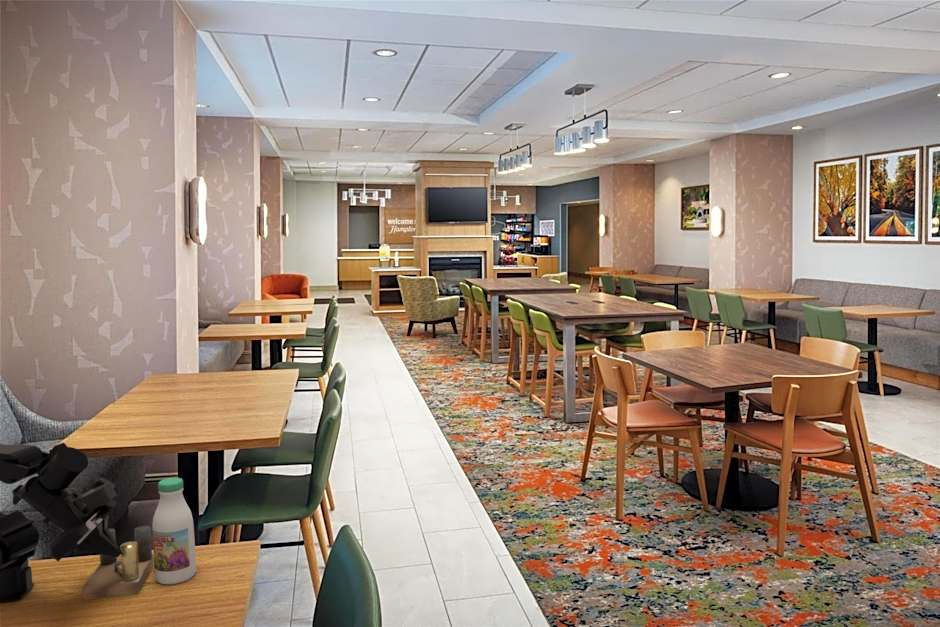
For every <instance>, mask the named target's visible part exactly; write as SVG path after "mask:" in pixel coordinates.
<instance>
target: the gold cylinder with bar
mask: <svg viewBox="0 0 940 627" xmlns="http://www.w3.org/2000/svg"><path fill="white" fill-rule="evenodd" d="M119 548H120V550H121V552H122V553H121V555H120V558H121V565H120V566H118V572H120V573H121V574H122V579H123V580H125V581H130V580H134V579H136V578H138V577H139V561H138V544H137V542H135V540H134V541H126V542H124V543H122V544H120V546H119Z"/></svg>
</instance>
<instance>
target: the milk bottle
mask: <svg viewBox="0 0 940 627" xmlns="http://www.w3.org/2000/svg"><path fill="white" fill-rule="evenodd" d="M157 488H158V494H159V501H158V505H157V508H156V510H155V511H154V515H153V518H152V527H151V528H152V548H153V550H152V554H153V558H154V568H153V569H154V579H155V581H156V583H157V582H158V583H159V584H162V585H175V584H176V585H177V584H180V583H183V582H186V581H188V580H190V579H191V578H193V577H194V576H195V575H196V571H197V563H196V561H197V560H196V542H195V541H196V540H195V526H194V519H193V514H192V510H191V509H190V507H189V505H188V504H187V502H186V499H185V497H184V494H183V491H184V479H183V478H182V477H181V478H180V477H169V478H168V477H166V478H164V479H162V480H159V481H158V484H157Z"/></svg>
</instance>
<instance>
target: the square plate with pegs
mask: <svg viewBox="0 0 940 627" xmlns="http://www.w3.org/2000/svg"><path fill="white" fill-rule="evenodd" d="M108 529H109V531H110V533H111V535H112V537H113V538H114V540H115V541H116V542H117V540H116V530H115V528H108ZM133 530H134V542H137V544H138V561H139V577H138V578H136V579H134V580H130V581H125V580H123V579H122V574H121V573H120V572H118V566H120V565H121V557H113V556H108V555H104V554H99V565H98V566H97V568H96V569H95V570H94V572H93V573H92V574H91V575H90V577H89V579H87V580H86V583H85V584H84V585H83V586H82V590H83V600H91V599H90V598H94V599H101V598H102V597H104V598H113V597H124V596H135V595H139V593H140V591H141V590H142V588H143V586H145V583H146V582H147V579H148V578H149V576H150V574H151V573H150V572H152V571H153V569H154V568H153V567H154V554H153V550H152V548H153V547H152V534H151V532H152V531H151V526H149V525H141V526H138V527H135V528H134V529H133ZM151 570H152V571H151Z"/></svg>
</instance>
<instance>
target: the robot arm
mask: <svg viewBox="0 0 940 627" xmlns="http://www.w3.org/2000/svg"><path fill="white" fill-rule="evenodd" d="M88 465H89V458H88V456H87V455H86V453H84V452H83V451H81V450H80V449H78V448H75V447H71V446H68V445H66V443H65V442H61V443H58V444H55V445H54V446H52V448H51V449H50V452H47V451H43V450H42V449H41V448H40V447H38V446H37V445H33V444H23V443H18V444H17V443H15V444H2V443H0V482H2V483H3V484H5V485H6V484H7V485H12V484H15V483H18V482H20V481H23V480H26V479H27V481H26V482H25V483H24V484H19V485H18V486H16V487H15V488H14V489H13V490H11V491H12V505H14V506H16V505H18V504H19V503H20V502H22V501H23V500H24V501H25V503H27V504H28V505H29V506H30V507H32V508H33V509H34V510H35V511H36V512H38V513H39V514H41V515H42V516H43V517H44V519H43V520H41V521H42V522H43V523H44V524H45V526H46V525H49V524H50V523H52V524H53V525H54V526H56V527H57V528H58V529H60V530H61V532H62V533H61V534H60V537H59V538H58V539H57V540H56V541H55V542H54V543H53V544H52V545H51V546H50V547H49V556H51V558H53V559H54V560H55V561H57V562H60V561H61V560H62V559H63V557H65V556H66V555H67V553H69V552H70V550H71V549H72V548H73V547H74V548H73V551H75V552H76V551H81V552H83V551H84V552H89V553H95V554H99V555H100V554H104V555H108V556H113V557H117V558H120V557H121V553H122V552H121V550H120V546H119V545H118V543H117V540H116V541H115V540H114V538H113V537H112V535H111V533H110V531H109V529H110V528H109V527H108V524H109V517H110V515H109V514H107V513H108V512H110V511H111V510H112V508H114V507H115V505H116V504H117V503H118V502H116V501H115V499H113V498H116V497H117V493H116V491H115V486H116V484H115V483H113V482H111V480H108V479H106V478H105V477H101V478H98V479H96V480H95V481H94V482H93V483H92V488H91V489H90V490H88V491H86V492H85V493H81V492H80V491H79V490H73V492H71V491H69V489H67V488H69V487H71V486H72V484H73V483H74V482H75V481H77V479H78V478H79V477H80V476H81V474H82V473H83V472H84V471H85V470H86V469H87V468H88V467H89V466H88ZM105 515H106V516H105ZM39 539H40V533H39V530H38V528H37V527H36V526H35V525H34V520H31V519H29V518H28V517H27V516H25V514H24V513H23V512H21V511H20V510H15V511H13V512H10V513H8V514H7V513H3V512H1V511H0V603H3V602H4V603H5V602H14V601H15V602H16V601H21V600H22V599H23V598H24V597H25V596H26V594H27V593H28V592H29V591H30V590H31V589H32V588H33V587H34V585H35V584H34V582H33V575H32V567H31V566H29V558H31V557H34V556H35V554H36V551H37V547H38V544H39ZM76 544H77V545H76ZM75 545H76V547H75Z"/></svg>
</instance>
